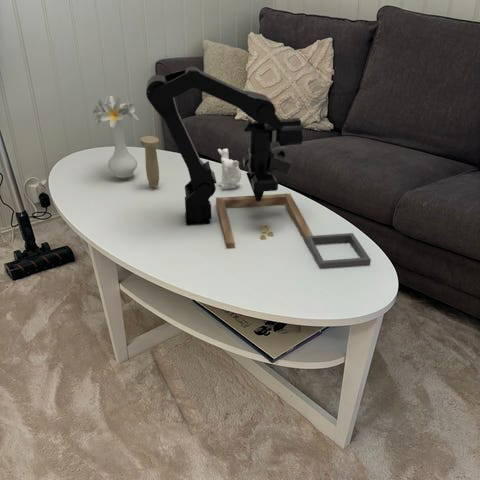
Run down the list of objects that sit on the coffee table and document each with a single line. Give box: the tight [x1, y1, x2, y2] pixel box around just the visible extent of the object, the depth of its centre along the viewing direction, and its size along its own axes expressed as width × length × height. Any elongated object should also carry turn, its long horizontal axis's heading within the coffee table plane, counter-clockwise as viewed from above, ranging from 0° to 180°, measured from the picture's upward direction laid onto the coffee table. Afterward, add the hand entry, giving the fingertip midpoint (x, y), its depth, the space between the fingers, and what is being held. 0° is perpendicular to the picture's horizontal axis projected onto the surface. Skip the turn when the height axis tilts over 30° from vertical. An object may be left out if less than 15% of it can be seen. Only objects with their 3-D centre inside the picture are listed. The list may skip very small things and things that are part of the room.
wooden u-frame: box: [215, 193, 314, 249], centre depth 127 cm, size 22×25×2 cm
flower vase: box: [92, 95, 140, 179], centre depth 148 cm, size 13×18×25 cm
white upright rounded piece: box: [217, 148, 242, 190], centre depth 144 cm, size 8×7×12 cm
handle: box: [140, 135, 160, 188], centre depth 144 cm, size 5×6×15 cm
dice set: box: [259, 225, 275, 241], centre depth 122 cm, size 5×5×2 cm
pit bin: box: [305, 232, 372, 269], centre depth 113 cm, size 12×12×3 cm
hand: (258, 200), depth 129 cm, fingers closed
